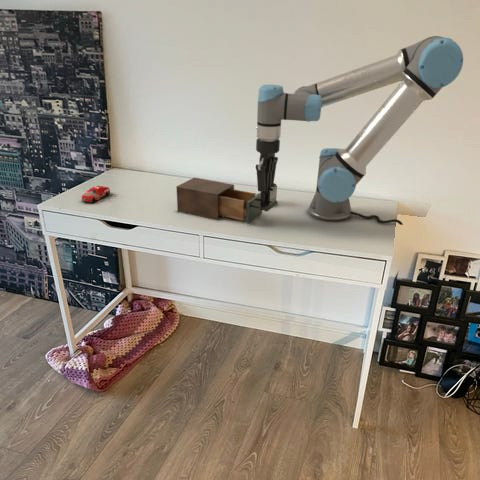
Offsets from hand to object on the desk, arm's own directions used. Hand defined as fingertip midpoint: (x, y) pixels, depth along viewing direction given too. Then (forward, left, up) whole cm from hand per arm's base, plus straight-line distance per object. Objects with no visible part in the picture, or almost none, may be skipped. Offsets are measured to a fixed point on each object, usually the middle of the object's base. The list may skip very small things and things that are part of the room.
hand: (264, 209), depth 167 cm
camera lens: (+6, -18, -5) cm, 20 cm away
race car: (+66, +10, -5) cm, 67 cm away
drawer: (+8, 0, -4) cm, 9 cm away
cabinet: (+23, 0, -5) cm, 24 cm away
